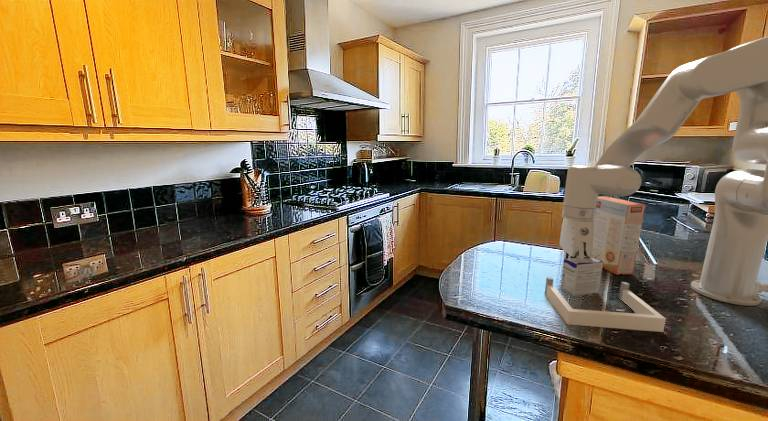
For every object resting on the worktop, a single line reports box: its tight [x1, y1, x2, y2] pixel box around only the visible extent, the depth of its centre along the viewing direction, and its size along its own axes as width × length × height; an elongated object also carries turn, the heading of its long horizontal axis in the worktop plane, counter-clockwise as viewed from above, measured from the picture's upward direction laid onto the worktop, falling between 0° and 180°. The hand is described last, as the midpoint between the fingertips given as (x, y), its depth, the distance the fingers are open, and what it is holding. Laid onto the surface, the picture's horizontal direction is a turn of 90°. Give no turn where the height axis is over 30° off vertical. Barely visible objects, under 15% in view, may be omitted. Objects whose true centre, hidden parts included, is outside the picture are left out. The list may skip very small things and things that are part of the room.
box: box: [560, 257, 603, 297], centre depth 85 cm, size 8×4×9 cm, turn 104°
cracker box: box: [584, 195, 647, 276], centre depth 100 cm, size 14×6×21 cm, turn 6°
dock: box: [544, 276, 667, 333], centre depth 75 cm, size 18×14×4 cm
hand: (569, 277), depth 91 cm, fingers closed
